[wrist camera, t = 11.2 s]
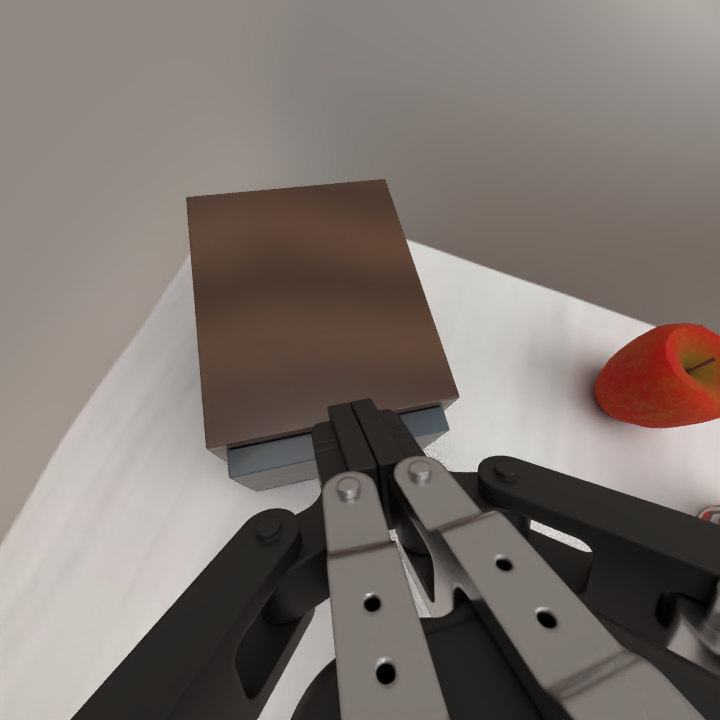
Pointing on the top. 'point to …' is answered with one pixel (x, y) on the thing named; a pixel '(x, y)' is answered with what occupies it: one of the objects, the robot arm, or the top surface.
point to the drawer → (311, 453)
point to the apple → (664, 378)
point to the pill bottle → (711, 514)
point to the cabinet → (307, 311)
